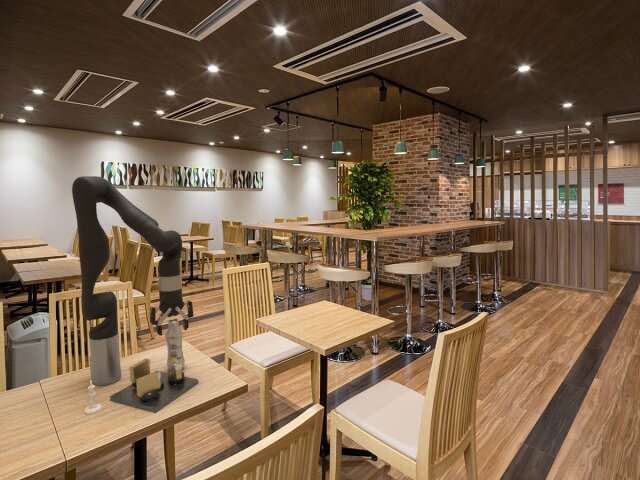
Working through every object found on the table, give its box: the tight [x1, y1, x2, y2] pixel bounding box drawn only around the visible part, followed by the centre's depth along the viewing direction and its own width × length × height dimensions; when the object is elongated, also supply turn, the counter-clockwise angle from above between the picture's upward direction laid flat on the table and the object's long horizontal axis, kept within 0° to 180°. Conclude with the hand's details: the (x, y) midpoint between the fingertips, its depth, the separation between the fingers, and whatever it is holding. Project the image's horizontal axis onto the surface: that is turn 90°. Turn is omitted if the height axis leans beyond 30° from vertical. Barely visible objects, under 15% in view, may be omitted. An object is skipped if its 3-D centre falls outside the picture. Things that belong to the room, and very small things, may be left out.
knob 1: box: [128, 358, 151, 387], centre depth 132 cm, size 7×6×8 cm
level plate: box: [109, 370, 199, 413], centre depth 129 cm, size 20×20×3 cm
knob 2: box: [136, 370, 161, 402], centre depth 122 cm, size 7×6×8 cm
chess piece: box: [84, 379, 103, 416], centre depth 118 cm, size 5×5×10 cm
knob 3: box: [168, 357, 186, 384], centre depth 133 cm, size 7×6×8 cm
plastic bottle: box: [164, 318, 185, 371], centre depth 145 cm, size 6×7×20 cm
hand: (173, 332), depth 131 cm, fingers open, 8 cm apart
